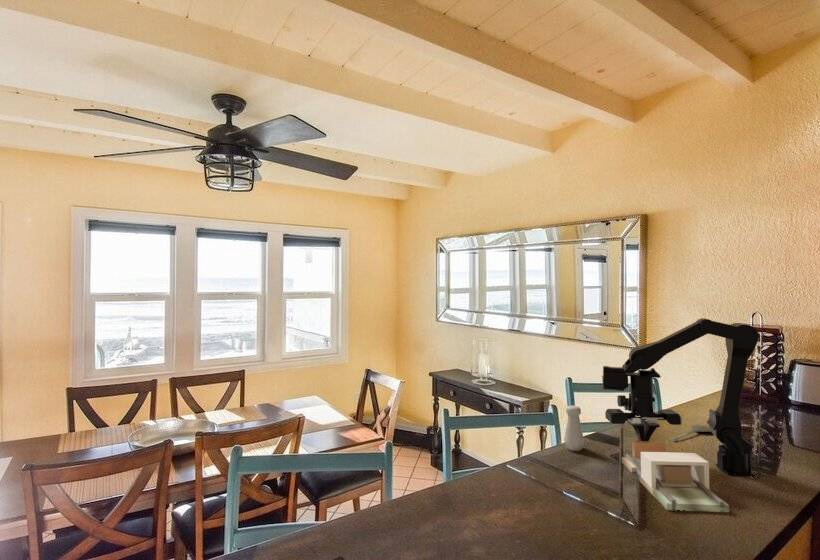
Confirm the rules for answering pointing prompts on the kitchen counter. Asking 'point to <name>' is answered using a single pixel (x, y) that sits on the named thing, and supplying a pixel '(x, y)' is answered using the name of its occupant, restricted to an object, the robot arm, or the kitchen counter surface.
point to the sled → (664, 466)
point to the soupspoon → (695, 429)
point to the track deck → (680, 493)
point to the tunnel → (672, 458)
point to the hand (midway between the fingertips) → (643, 446)
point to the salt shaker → (573, 429)
